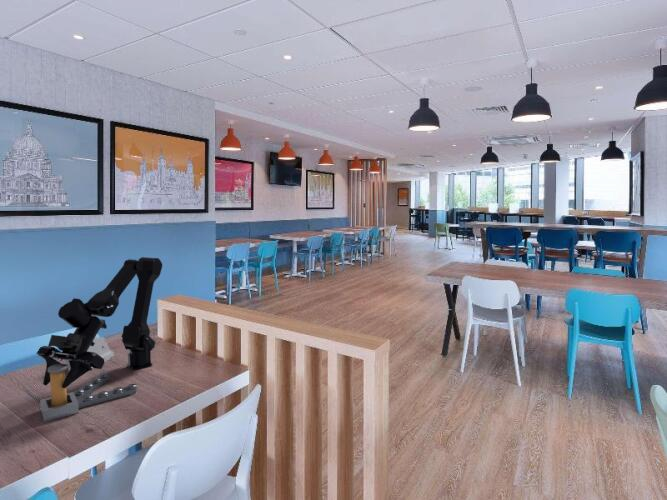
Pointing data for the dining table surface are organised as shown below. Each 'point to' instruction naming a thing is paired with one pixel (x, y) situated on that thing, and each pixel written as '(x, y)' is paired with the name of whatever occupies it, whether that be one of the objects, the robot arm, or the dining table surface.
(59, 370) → the pin
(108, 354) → the hinge
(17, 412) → the dining table surface
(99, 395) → the grey forked bracket
